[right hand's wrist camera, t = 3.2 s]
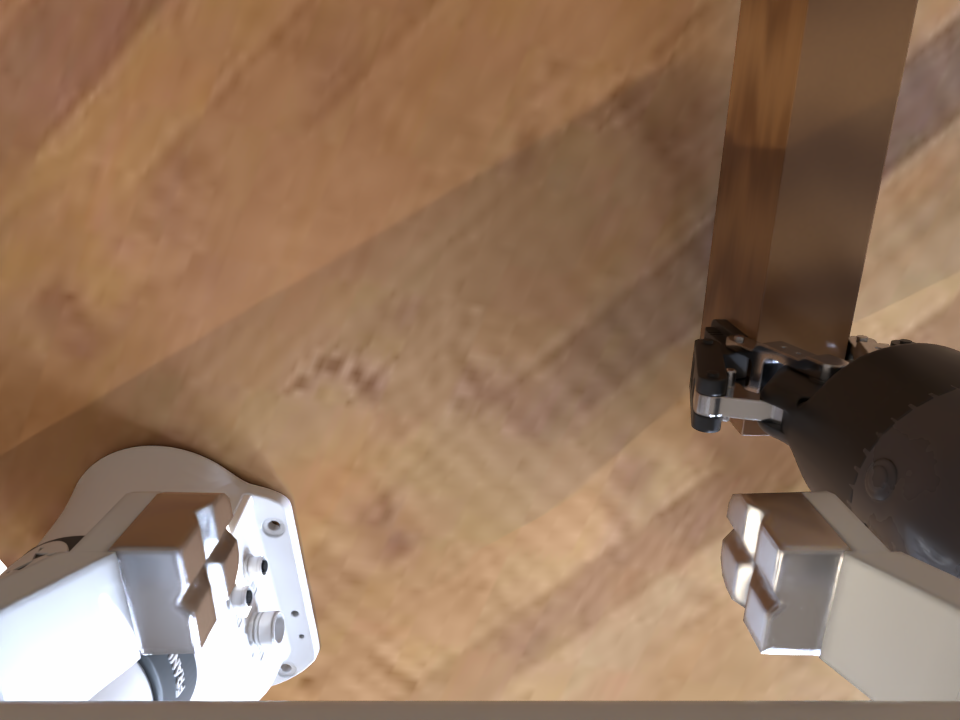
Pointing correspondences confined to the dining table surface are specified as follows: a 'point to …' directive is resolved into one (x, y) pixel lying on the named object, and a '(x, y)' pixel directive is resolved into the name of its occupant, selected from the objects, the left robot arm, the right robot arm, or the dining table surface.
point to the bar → (803, 168)
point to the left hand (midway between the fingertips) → (762, 336)
